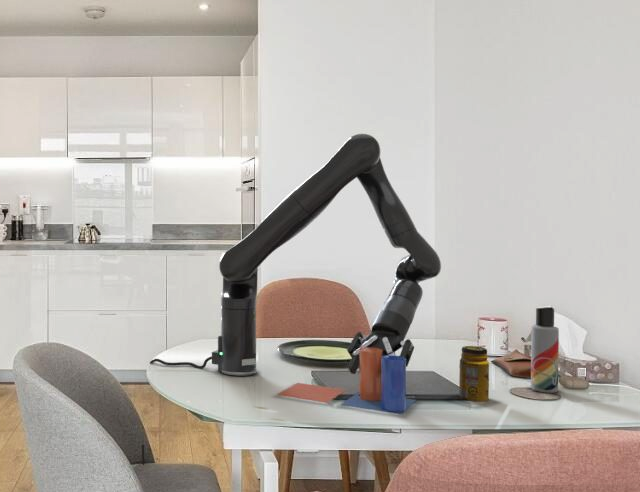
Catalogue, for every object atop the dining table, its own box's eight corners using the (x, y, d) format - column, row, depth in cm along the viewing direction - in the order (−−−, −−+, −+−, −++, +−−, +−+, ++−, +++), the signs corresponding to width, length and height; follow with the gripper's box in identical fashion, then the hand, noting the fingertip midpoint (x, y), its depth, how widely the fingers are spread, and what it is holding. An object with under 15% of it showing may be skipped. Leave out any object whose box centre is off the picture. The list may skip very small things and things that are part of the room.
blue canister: (378, 409, 153) (378, 358, 152) (384, 404, 157) (384, 354, 157) (402, 413, 150) (402, 361, 150) (408, 408, 154) (408, 357, 154)
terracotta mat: (276, 397, 165) (276, 394, 165) (297, 385, 176) (297, 382, 176) (327, 405, 158) (327, 402, 158) (345, 392, 169) (345, 389, 169)
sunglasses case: (487, 360, 201) (500, 340, 200) (510, 373, 200) (523, 353, 199) (511, 375, 183) (525, 353, 182) (536, 390, 182) (551, 368, 182)
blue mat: (340, 407, 157) (340, 404, 157) (358, 394, 168) (358, 391, 167) (401, 417, 149) (401, 414, 149) (416, 402, 160) (416, 399, 160)
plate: (392, 356, 209) (392, 347, 209) (350, 373, 188) (350, 363, 188) (306, 343, 227) (306, 335, 227) (259, 358, 207) (259, 349, 206)
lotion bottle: (548, 394, 167) (549, 309, 167) (525, 388, 172) (526, 305, 172) (563, 391, 170) (564, 307, 169) (540, 385, 175) (541, 304, 174)
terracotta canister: (356, 398, 161) (356, 350, 161) (363, 393, 165) (363, 346, 165) (378, 402, 158) (379, 352, 158) (385, 397, 163) (385, 348, 162)
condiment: (497, 402, 161) (497, 348, 161) (475, 408, 156) (475, 353, 156) (467, 394, 167) (467, 343, 167) (445, 400, 162) (445, 347, 162)
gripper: (361, 305, 172) (334, 360, 165) (417, 312, 161) (391, 371, 154) (373, 325, 176) (347, 379, 168) (428, 333, 165) (403, 391, 158)
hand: (368, 375), depth 161 cm, fingers open, 8 cm apart
